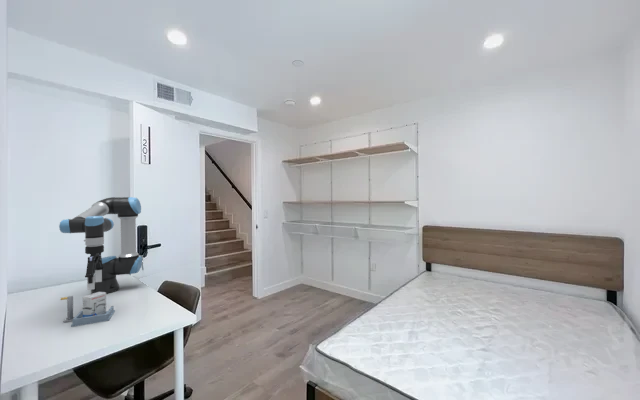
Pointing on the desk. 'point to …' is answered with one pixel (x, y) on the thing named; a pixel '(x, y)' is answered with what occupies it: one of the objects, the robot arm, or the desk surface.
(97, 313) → the ink box
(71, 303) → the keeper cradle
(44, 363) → the desk surface
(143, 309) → the desk surface
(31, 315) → the desk surface
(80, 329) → the desk surface
